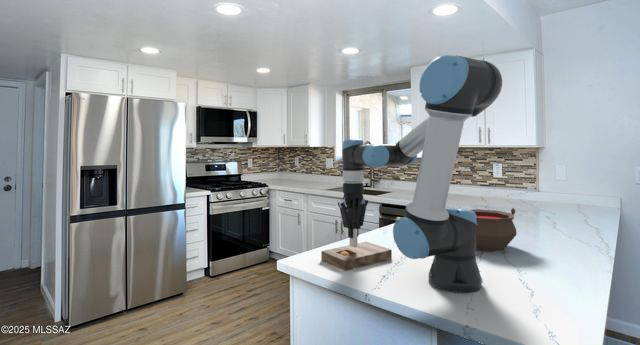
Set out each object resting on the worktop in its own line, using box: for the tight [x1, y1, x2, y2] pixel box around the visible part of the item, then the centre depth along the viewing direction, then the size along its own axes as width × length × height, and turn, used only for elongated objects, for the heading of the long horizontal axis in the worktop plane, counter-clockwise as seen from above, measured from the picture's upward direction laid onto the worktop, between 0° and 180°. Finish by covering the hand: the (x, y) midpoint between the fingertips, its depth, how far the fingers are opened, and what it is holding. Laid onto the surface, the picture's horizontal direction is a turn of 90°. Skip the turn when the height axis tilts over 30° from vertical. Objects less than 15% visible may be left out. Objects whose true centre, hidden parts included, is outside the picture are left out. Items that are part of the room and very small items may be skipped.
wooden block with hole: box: [320, 241, 393, 272], centre depth 132 cm, size 22×14×4 cm, turn 124°
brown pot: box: [470, 207, 517, 252], centre depth 147 cm, size 24×24×16 cm
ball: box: [340, 251, 349, 256], centre depth 129 cm, size 4×4×4 cm
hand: (353, 246), depth 131 cm, fingers closed
